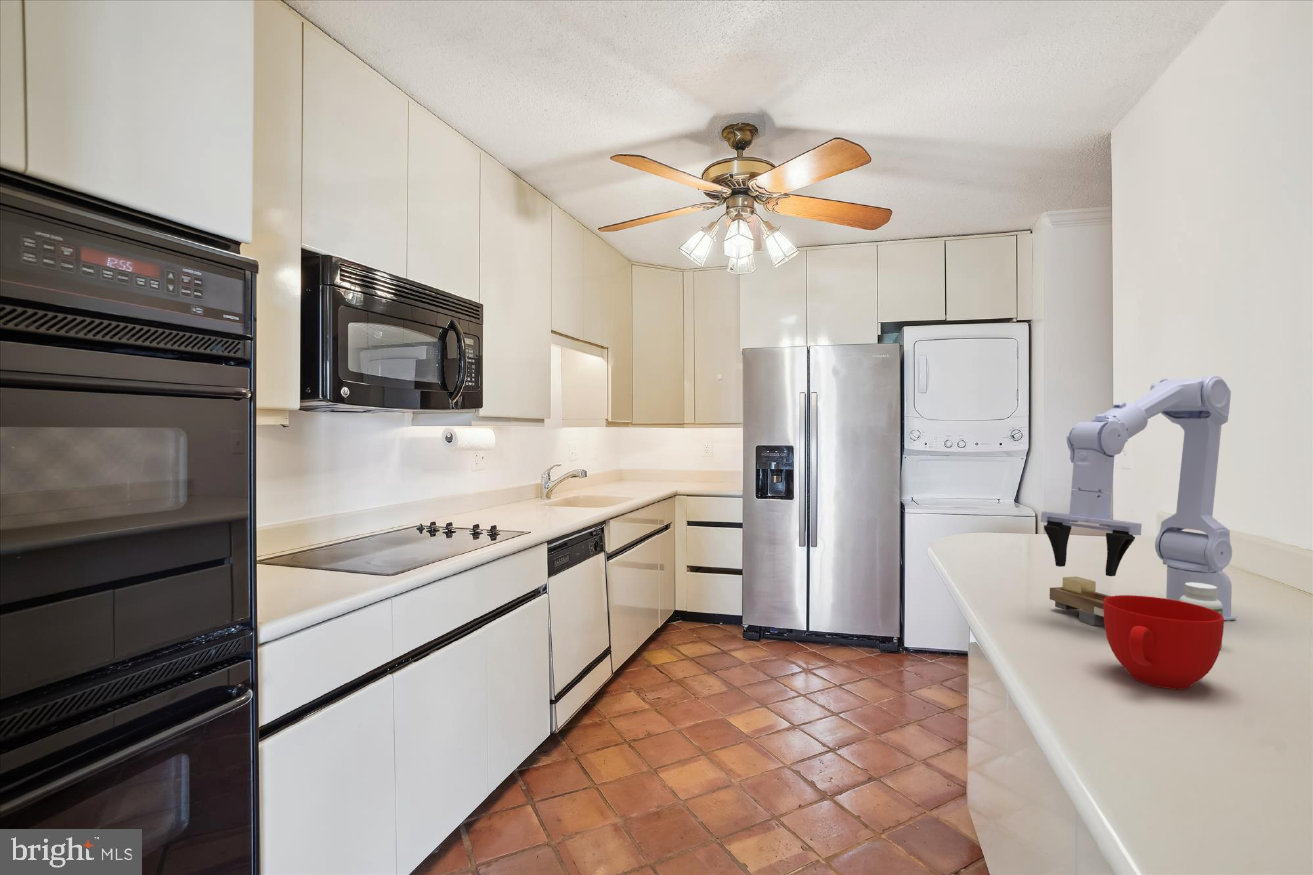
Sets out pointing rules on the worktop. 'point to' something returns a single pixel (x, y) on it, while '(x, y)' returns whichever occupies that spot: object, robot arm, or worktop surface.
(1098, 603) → the beam
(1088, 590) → the tan wooden block
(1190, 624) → the ceramic cup
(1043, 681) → the worktop surface
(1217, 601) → the supplement bottle
